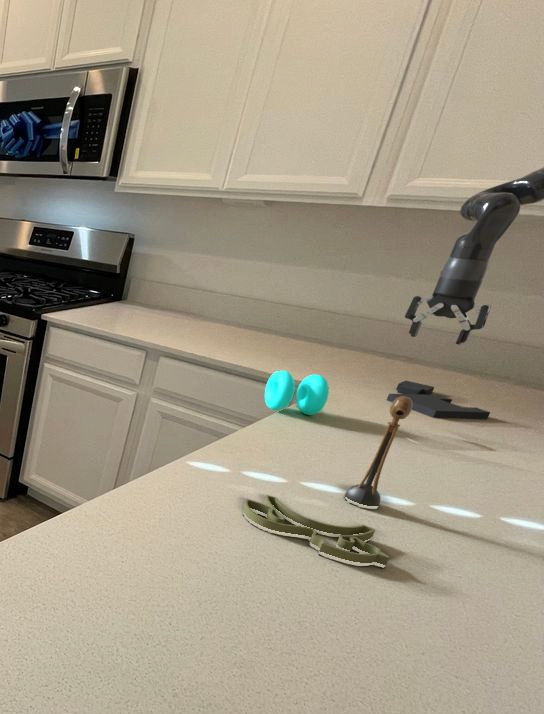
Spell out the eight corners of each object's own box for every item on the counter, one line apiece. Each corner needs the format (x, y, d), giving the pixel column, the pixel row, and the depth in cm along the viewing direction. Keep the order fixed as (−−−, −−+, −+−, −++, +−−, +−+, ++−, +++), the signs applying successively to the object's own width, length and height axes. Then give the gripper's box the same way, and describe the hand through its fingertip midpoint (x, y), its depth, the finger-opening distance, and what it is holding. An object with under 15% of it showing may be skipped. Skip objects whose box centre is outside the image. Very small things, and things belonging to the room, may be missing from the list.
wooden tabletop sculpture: (375, 515, 99) (423, 405, 92) (340, 503, 102) (384, 396, 95) (379, 503, 102) (425, 397, 95) (345, 493, 105) (388, 389, 98)
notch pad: (434, 407, 153) (439, 395, 152) (484, 425, 142) (490, 412, 141) (383, 406, 153) (389, 393, 151) (430, 424, 141) (436, 410, 140)
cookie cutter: (386, 544, 90) (391, 533, 89) (383, 578, 82) (388, 566, 81) (249, 499, 102) (252, 489, 101) (234, 525, 93) (237, 514, 93)
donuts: (321, 421, 139) (336, 382, 136) (272, 414, 142) (286, 376, 139) (304, 407, 148) (317, 370, 145) (258, 401, 151) (270, 365, 148)
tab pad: (400, 392, 165) (405, 380, 164) (429, 398, 160) (434, 386, 159) (389, 396, 160) (394, 384, 159) (418, 404, 155) (424, 391, 154)
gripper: (506, 280, 141) (478, 345, 147) (427, 272, 152) (403, 332, 158) (499, 282, 137) (469, 348, 143) (418, 273, 149) (394, 335, 154)
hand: (435, 340), depth 151 cm, fingers open, 8 cm apart
